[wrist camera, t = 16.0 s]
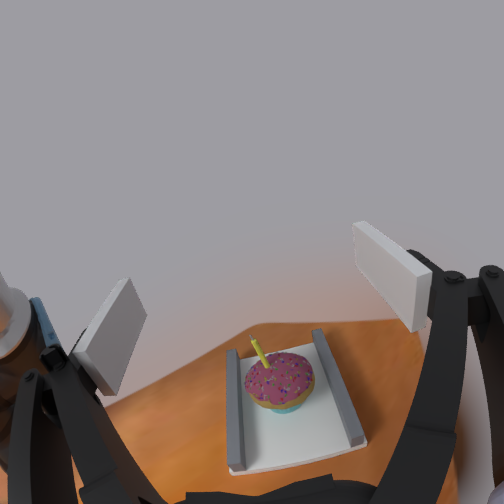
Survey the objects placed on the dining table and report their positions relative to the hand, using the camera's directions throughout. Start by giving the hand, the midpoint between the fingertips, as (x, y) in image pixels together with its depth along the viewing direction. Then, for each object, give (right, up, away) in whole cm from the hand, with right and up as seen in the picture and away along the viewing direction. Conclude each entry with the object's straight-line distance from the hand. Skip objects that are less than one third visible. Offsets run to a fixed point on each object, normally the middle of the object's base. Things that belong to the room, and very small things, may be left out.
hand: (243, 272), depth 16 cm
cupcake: (+5, -19, +18) cm, 27 cm away
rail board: (+5, -19, +19) cm, 28 cm away
